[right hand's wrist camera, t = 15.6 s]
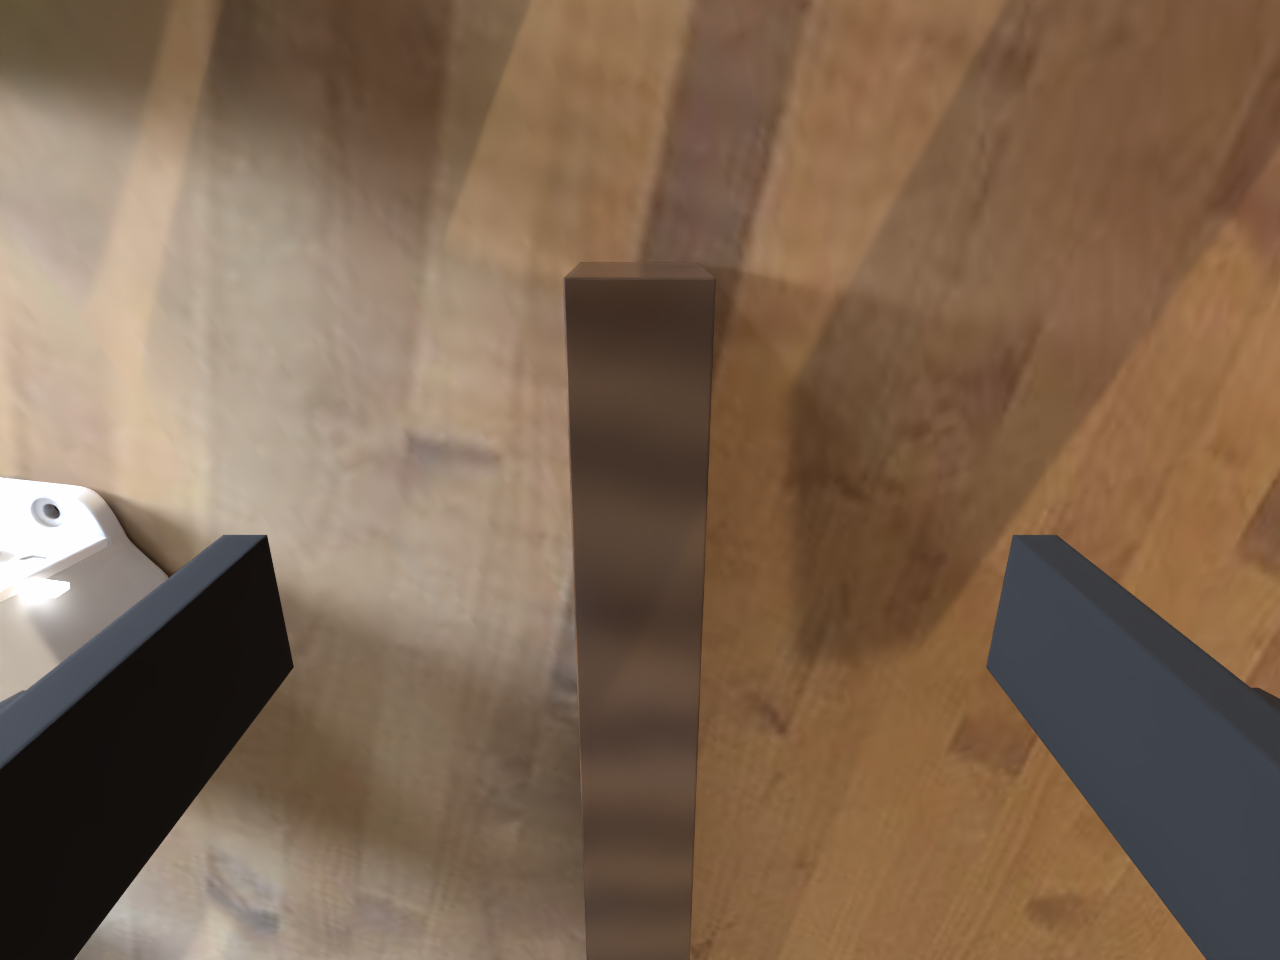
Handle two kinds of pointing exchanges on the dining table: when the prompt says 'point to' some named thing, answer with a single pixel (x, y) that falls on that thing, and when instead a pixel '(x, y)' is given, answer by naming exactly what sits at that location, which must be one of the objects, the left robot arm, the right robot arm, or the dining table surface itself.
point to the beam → (638, 589)
